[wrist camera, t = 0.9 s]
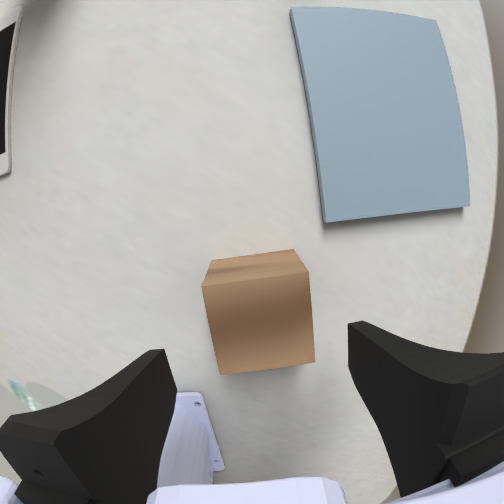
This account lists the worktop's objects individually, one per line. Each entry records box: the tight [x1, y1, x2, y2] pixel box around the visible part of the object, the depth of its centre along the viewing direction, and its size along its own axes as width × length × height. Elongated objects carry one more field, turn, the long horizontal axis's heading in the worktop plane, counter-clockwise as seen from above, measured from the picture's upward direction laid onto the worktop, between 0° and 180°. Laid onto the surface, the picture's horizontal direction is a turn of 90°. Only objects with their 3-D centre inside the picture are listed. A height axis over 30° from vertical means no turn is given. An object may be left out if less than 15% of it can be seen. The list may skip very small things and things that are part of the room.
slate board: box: [289, 7, 470, 223], centre depth 17 cm, size 14×11×1 cm
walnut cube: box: [201, 249, 315, 375], centre depth 18 cm, size 5×5×5 cm
